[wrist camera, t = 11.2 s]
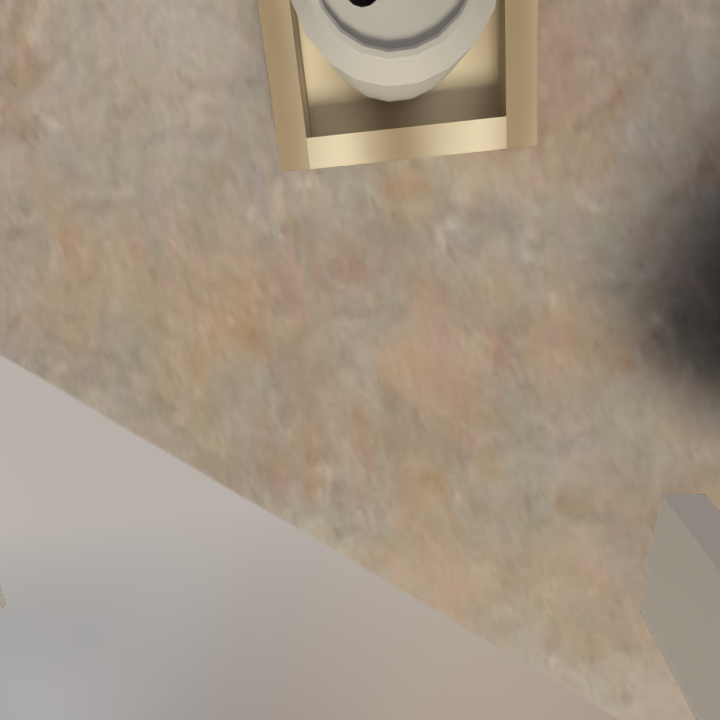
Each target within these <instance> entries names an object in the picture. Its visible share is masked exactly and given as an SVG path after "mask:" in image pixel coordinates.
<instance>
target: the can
mask: <svg viewBox="0 0 720 720" xmlns="http://www.w3.org/2000/svg"><path fill="white" fill-rule="evenodd" d="M496 1H497V0H291V2H292V4H293V6H294V9H295V11H296V14H297V16H298V18H299V21H300V23H301V25H302V28H303V30H304V32H305V35H306V36H307V37H308V38H309V40H310V41H311V42H312V43H313V44H314V46H315V47H316V48H317V49H318V50H319V52H320V53H321V54H322V55H323V56H324V58H325V59H326V60H327V61H328V62H329V64H330V65H331V66H332V67H333V68H334V70H335V71H336V72H337V73H338V74H339V75H340V77H341V78H342V79H343V80H344V81H345V82H346V84H347V85H349V86H351V87H352V88H354V89H355V90H357V91H359V92H360V93H362V94H363V95H365V96H367V97H370V98H375V99H379V100H383V101H388V102H391V101H400V100H408V99H413V98H415V97H417V96H419V95H421V94H423V93H425V92H427V91H429V90H431V89H433V88H434V87H435V86H436V85H437V84H438V83H439V82H441V81H442V80H443V79H444V78H445V77H446V76H447V75H448V74H449V73H450V72H451V71H452V70H453V69H454V67H455V66H456V65H457V64H458V63H459V61H460V60H461V59H462V58H463V57H464V56H465V54H466V53H467V52H468V51H469V50H470V49H471V47H472V46H473V45H474V44H475V43H476V41H477V39H478V37H479V36H480V34H481V32H482V30H483V29H484V27H485V25H486V23H487V22H488V20H489V18H490V16H491V15H492V13H493V11H494V9H495V5H496Z"/></svg>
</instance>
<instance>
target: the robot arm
mask: <svg viewBox="0 0 720 720" xmlns="http://www.w3.org/2000/svg"><path fill="white" fill-rule="evenodd" d="M5 605H6V602H5V599H4V596H3V593H2V590H1V586H0V611H1V609H2V608H3V607H4V606H5ZM640 613H641V615H642V617H643V619H644V621H645V622H646V624H647V626H648V628H649V630H650V632H651V634H652V636H653V638H654V640H655V642H656V643H657V645H658V647H659V649H660V651H661V653H662V655H663V657H664V659H665V661H666V663H667V665H668V666H669V668H670V670H671V672H672V674H673V676H674V678H675V680H676V682H677V684H678V686H679V687H680V689H681V691H682V693H683V695H684V697H685V699H686V701H687V703H688V705H689V707H690V708H691V710H692V712H693V714H694V716H695V718H696V720H720V511H719V510H718V509H717V508H716V507H715V506H714V504H713V503H712V502H711V501H710V500H709V499H708V498H707V496H706V495H705V494H661V498H660V503H659V509H658V515H657V521H656V526H655V532H654V538H653V543H652V549H651V555H650V560H649V566H648V572H647V577H646V583H645V589H644V594H643V600H642V606H641V611H640Z"/></svg>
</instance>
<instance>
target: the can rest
mask: <svg viewBox="0 0 720 720" xmlns="http://www.w3.org/2000/svg"><path fill="white" fill-rule="evenodd" d="M258 7H259V14H260V22H261V29H262V36H263V43H264V50H265V57H266V64H267V71H268V79H269V86H270V93H271V100H272V107H273V114H274V121H275V128H276V136H277V143H278V150H279V157H280V164H281V171H282V172H286V171H296V170H306V169H315V168H325V167H335V166H344V165H354V164H363V163H373V162H383V161H392V160H402V159H411V158H421V157H431V156H440V155H450V154H460V153H469V152H479V151H488V150H498V149H508V148H517V147H527V146H537V90H538V0H497V1H496V5H495V9H494V11H493V13H492V15H491V16H490V18H489V20H488V22H487V23H486V25H485V27H484V29H483V30H482V32H481V34H480V36H479V37H478V39H477V41H476V43H475V44H474V45H473V46H472V47H471V49H470V50H469V51H468V52H467V53H466V54H465V56H464V57H463V58H462V59H461V60H460V61H459V63H458V64H457V65H456V66H455V67H454V69H453V70H452V71H451V72H450V73H449V74H448V75H447V76H446V77H445V78H444V79H443V80H442V81H441V82H439V83H438V84H437V85H436V86H435V87H434V88H433V89H431V90H429V91H427V92H425V93H423V94H421V95H419V96H417V97H415V98H413V99H408V100H400V101H391V102H388V101H383V100H379V99H375V98H370V97H367V96H365V95H363V94H362V93H360V92H359V91H357V90H355V89H354V88H352V87H351V86H349V85H347V84H346V82H345V81H344V80H343V79H342V78H341V77H340V75H339V74H338V73H337V72H336V71H335V70H334V68H333V67H332V66H331V65H330V64H329V62H328V61H327V60H326V59H325V58H324V56H323V55H322V54H321V53H320V52H319V50H318V49H317V48H316V47H315V46H314V44H313V43H312V42H311V41H310V40H309V38H308V37H307V36H306V35H305V32H304V30H303V28H302V25H301V23H300V21H299V18H298V16H297V14H296V11H295V9H294V6H293V4H292V2H291V0H258Z"/></svg>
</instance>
